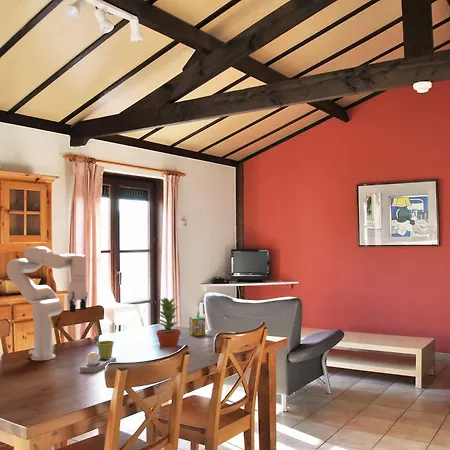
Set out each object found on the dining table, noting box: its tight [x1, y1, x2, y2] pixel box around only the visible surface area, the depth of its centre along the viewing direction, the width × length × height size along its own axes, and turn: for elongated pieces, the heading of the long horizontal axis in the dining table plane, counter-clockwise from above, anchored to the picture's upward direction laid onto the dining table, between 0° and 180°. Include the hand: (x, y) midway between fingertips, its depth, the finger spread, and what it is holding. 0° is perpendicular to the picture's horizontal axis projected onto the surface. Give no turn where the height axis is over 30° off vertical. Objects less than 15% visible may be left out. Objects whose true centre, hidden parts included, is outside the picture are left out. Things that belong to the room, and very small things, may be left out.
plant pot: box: [96, 340, 115, 358], centre depth 283 cm, size 9×9×9 cm
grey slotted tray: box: [79, 356, 117, 374], centre depth 264 cm, size 8×22×2 cm, turn 164°
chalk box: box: [188, 311, 206, 337], centre depth 346 cm, size 9×9×15 cm
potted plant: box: [156, 296, 181, 349], centre depth 313 cm, size 15×15×30 cm
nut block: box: [87, 351, 100, 366], centre depth 259 cm, size 4×4×8 cm
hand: (77, 310), depth 275 cm, fingers open, 9 cm apart
